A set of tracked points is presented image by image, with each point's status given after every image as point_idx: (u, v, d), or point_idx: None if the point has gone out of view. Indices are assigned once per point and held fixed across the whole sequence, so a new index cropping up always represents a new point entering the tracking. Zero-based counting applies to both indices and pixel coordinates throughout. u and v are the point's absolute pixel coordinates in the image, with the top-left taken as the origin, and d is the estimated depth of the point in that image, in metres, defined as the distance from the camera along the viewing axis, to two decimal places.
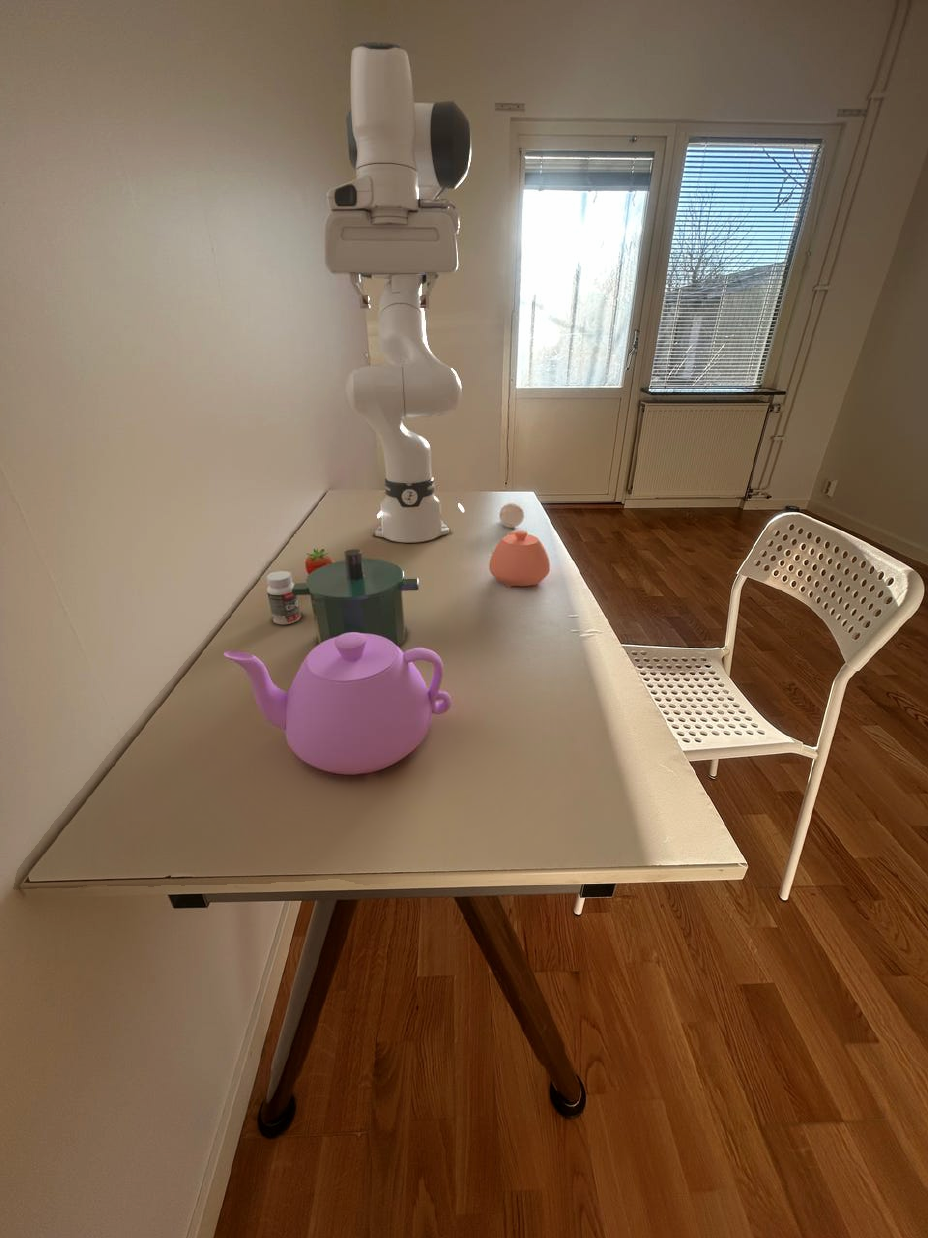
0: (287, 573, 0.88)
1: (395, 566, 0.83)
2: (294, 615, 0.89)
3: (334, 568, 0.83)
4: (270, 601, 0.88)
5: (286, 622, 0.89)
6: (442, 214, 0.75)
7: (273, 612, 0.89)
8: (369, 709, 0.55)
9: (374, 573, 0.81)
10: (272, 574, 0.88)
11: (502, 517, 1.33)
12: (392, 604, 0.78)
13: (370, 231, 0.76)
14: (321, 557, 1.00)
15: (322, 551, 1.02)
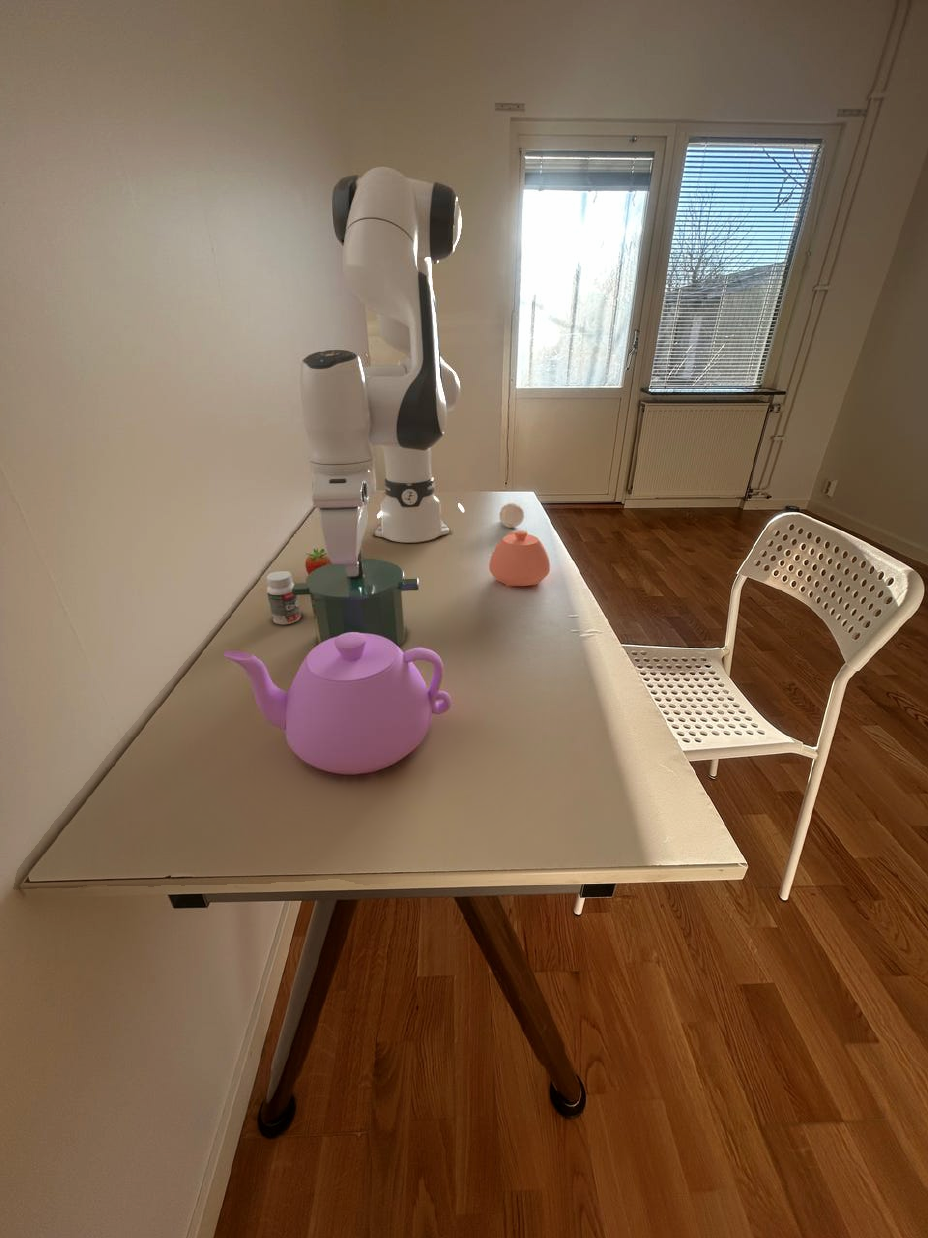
0: (287, 573, 0.88)
1: (395, 566, 0.83)
2: (294, 615, 0.89)
3: (334, 567, 0.83)
4: (270, 601, 0.88)
5: (286, 622, 0.89)
6: None
7: (273, 612, 0.89)
8: (369, 709, 0.55)
9: (374, 573, 0.81)
10: (272, 574, 0.88)
11: (502, 517, 1.33)
12: (392, 604, 0.78)
13: None
14: (321, 557, 1.00)
15: (322, 551, 1.02)
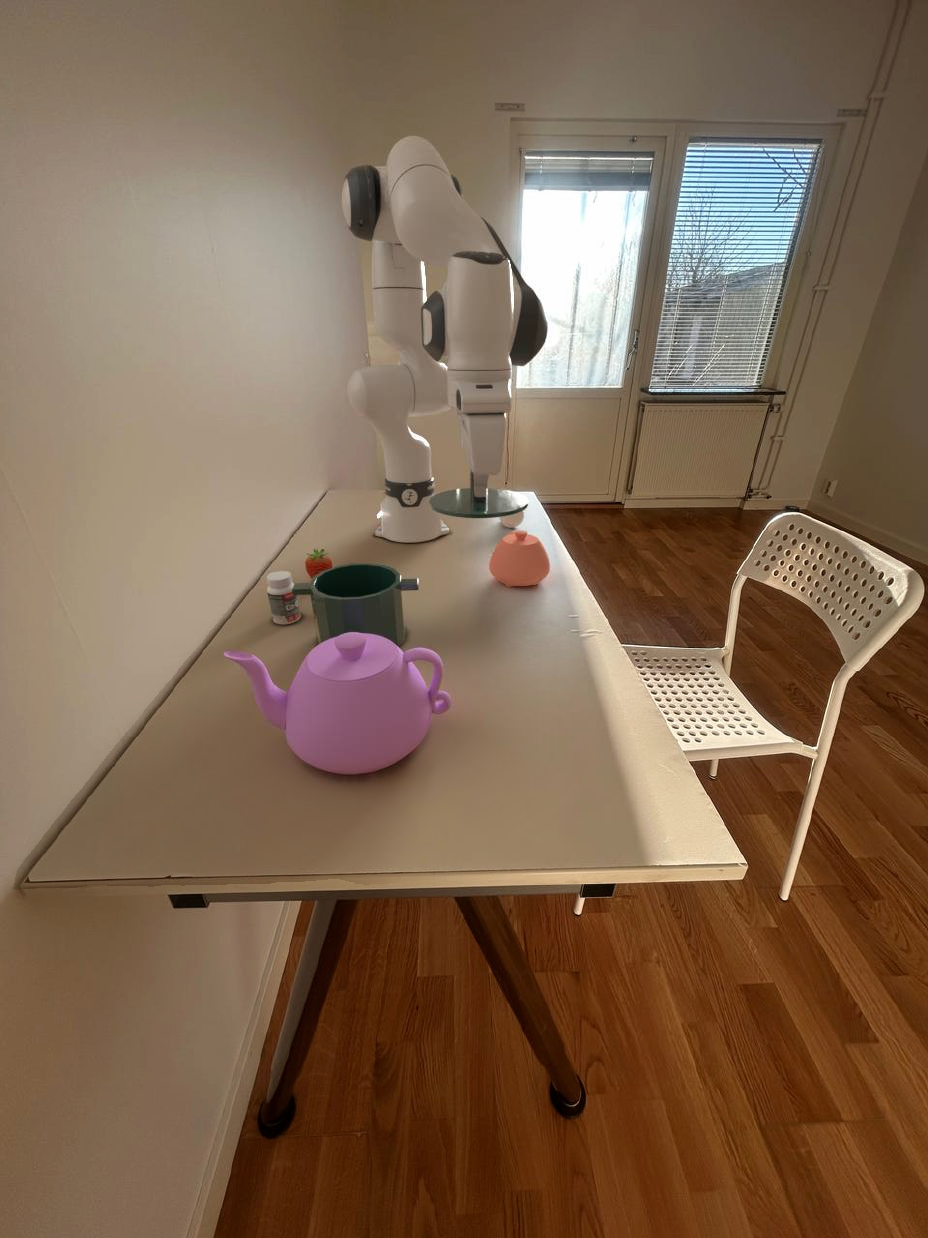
0: (287, 573, 0.88)
1: (514, 492, 0.81)
2: (294, 615, 0.89)
3: (452, 494, 0.81)
4: (270, 601, 0.88)
5: (286, 622, 0.89)
6: None
7: (273, 612, 0.89)
8: (369, 709, 0.55)
9: (496, 497, 0.79)
10: (272, 574, 0.88)
11: (502, 517, 1.33)
12: (392, 604, 0.78)
13: None
14: (321, 557, 1.00)
15: (322, 551, 1.02)
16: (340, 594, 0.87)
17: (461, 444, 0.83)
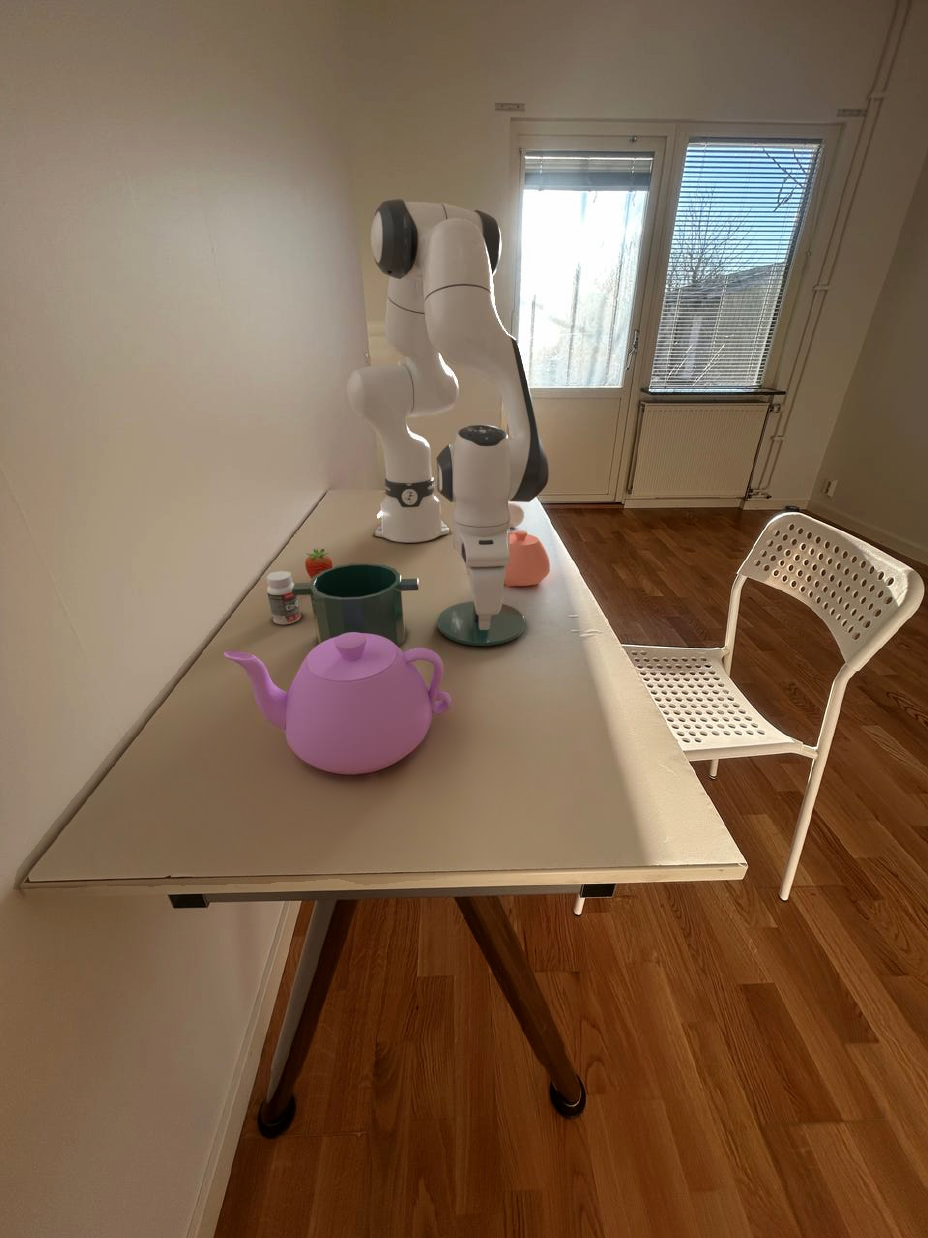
0: (287, 573, 0.88)
1: (513, 609, 0.91)
2: (294, 615, 0.89)
3: (457, 611, 0.91)
4: (270, 601, 0.88)
5: (286, 622, 0.89)
6: None
7: (273, 612, 0.89)
8: (369, 709, 0.55)
9: (497, 617, 0.89)
10: (272, 574, 0.88)
11: None
12: (392, 604, 0.78)
13: None
14: (321, 557, 1.00)
15: (322, 551, 1.02)
16: (340, 594, 0.87)
17: (465, 564, 0.93)
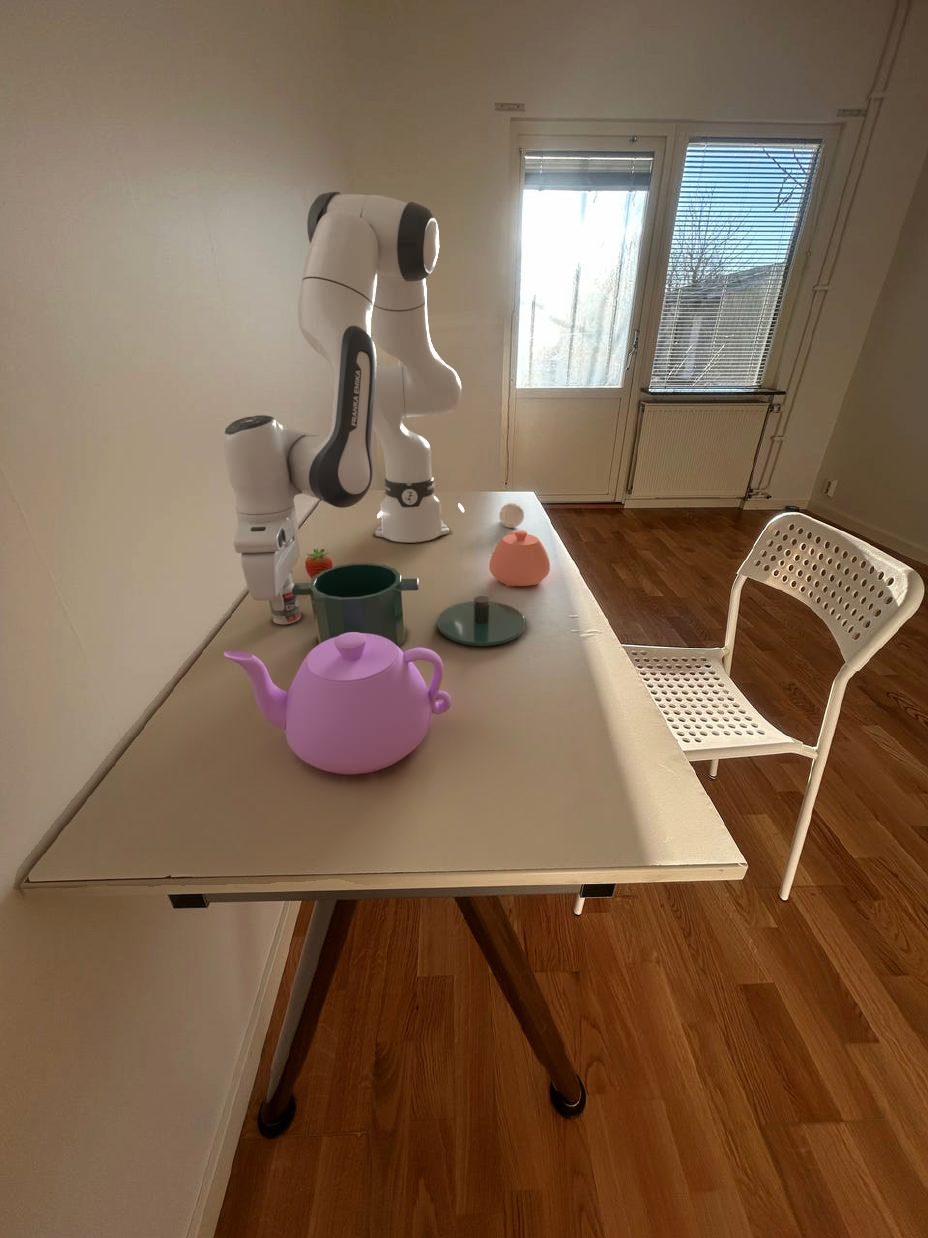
0: None
1: (513, 609, 0.91)
2: (294, 615, 0.89)
3: (457, 611, 0.91)
4: (270, 601, 0.88)
5: (286, 622, 0.89)
6: None
7: (273, 612, 0.89)
8: (369, 709, 0.55)
9: (497, 617, 0.89)
10: None
11: (502, 517, 1.33)
12: (392, 604, 0.78)
13: (279, 554, 0.83)
14: (321, 557, 1.00)
15: (322, 551, 1.02)
16: (340, 594, 0.87)
17: None
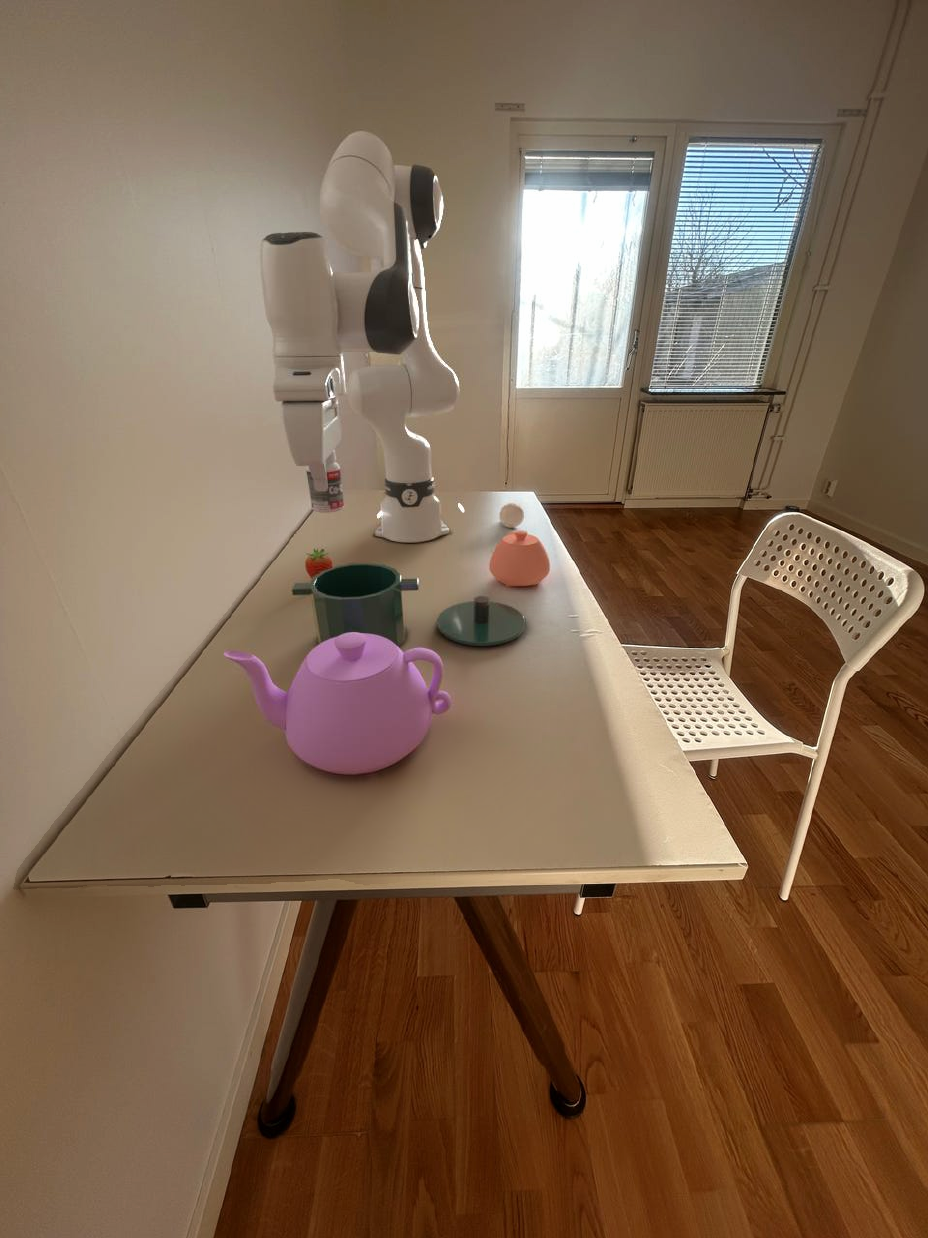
0: None
1: (513, 609, 0.91)
2: (338, 501, 0.75)
3: (457, 611, 0.91)
4: (310, 482, 0.73)
5: (329, 509, 0.74)
6: None
7: (313, 497, 0.74)
8: (369, 709, 0.55)
9: (497, 617, 0.89)
10: None
11: (502, 517, 1.33)
12: (392, 604, 0.78)
13: (324, 416, 0.68)
14: (321, 557, 1.00)
15: (322, 551, 1.02)
16: (340, 594, 0.87)
17: None
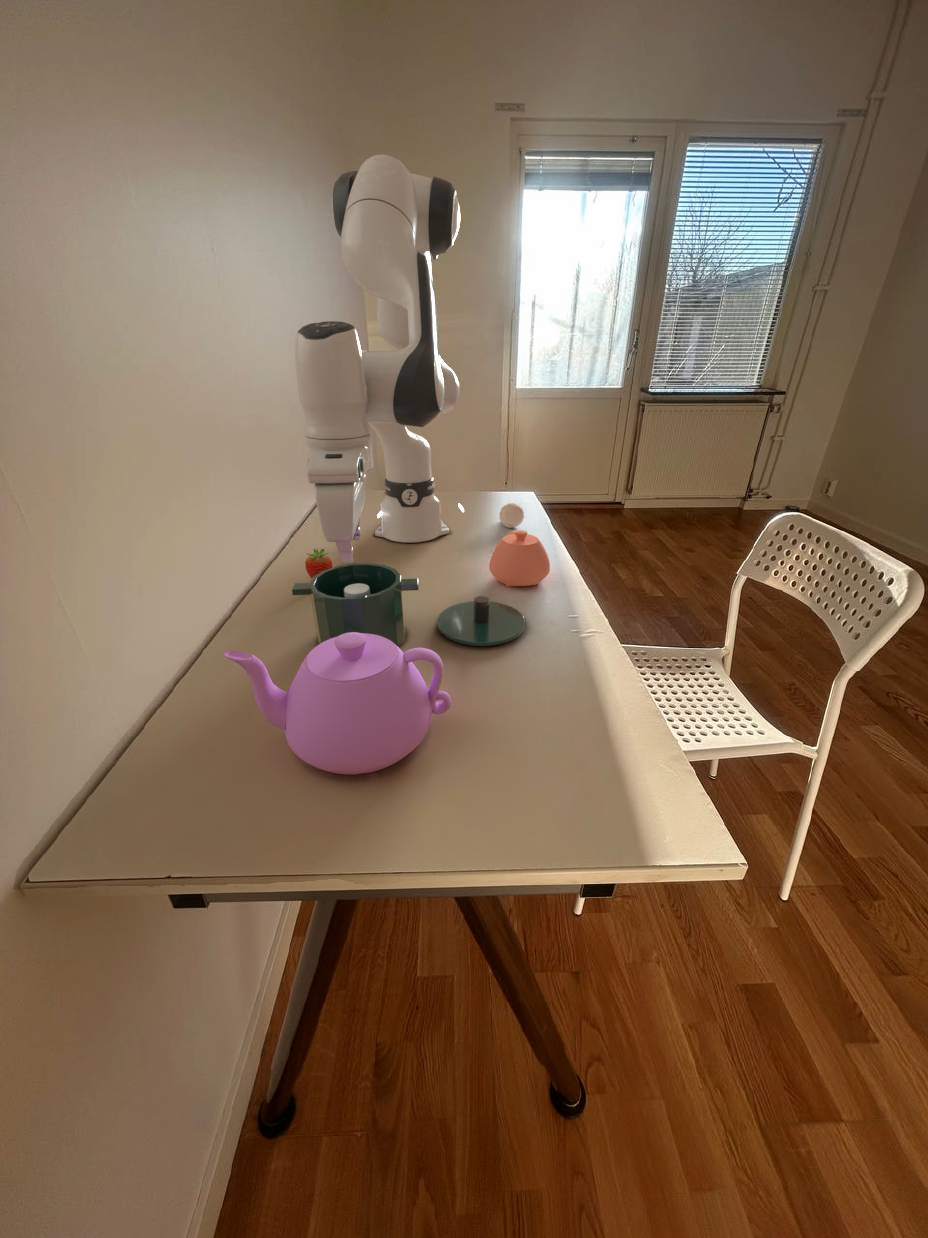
0: (365, 586, 0.82)
1: (513, 609, 0.91)
2: None
3: (457, 611, 0.91)
4: None
5: None
6: None
7: None
8: (369, 709, 0.55)
9: (497, 617, 0.89)
10: (349, 586, 0.82)
11: (502, 517, 1.33)
12: (392, 604, 0.78)
13: None
14: (321, 557, 1.00)
15: (322, 551, 1.02)
16: (340, 594, 0.87)
17: None
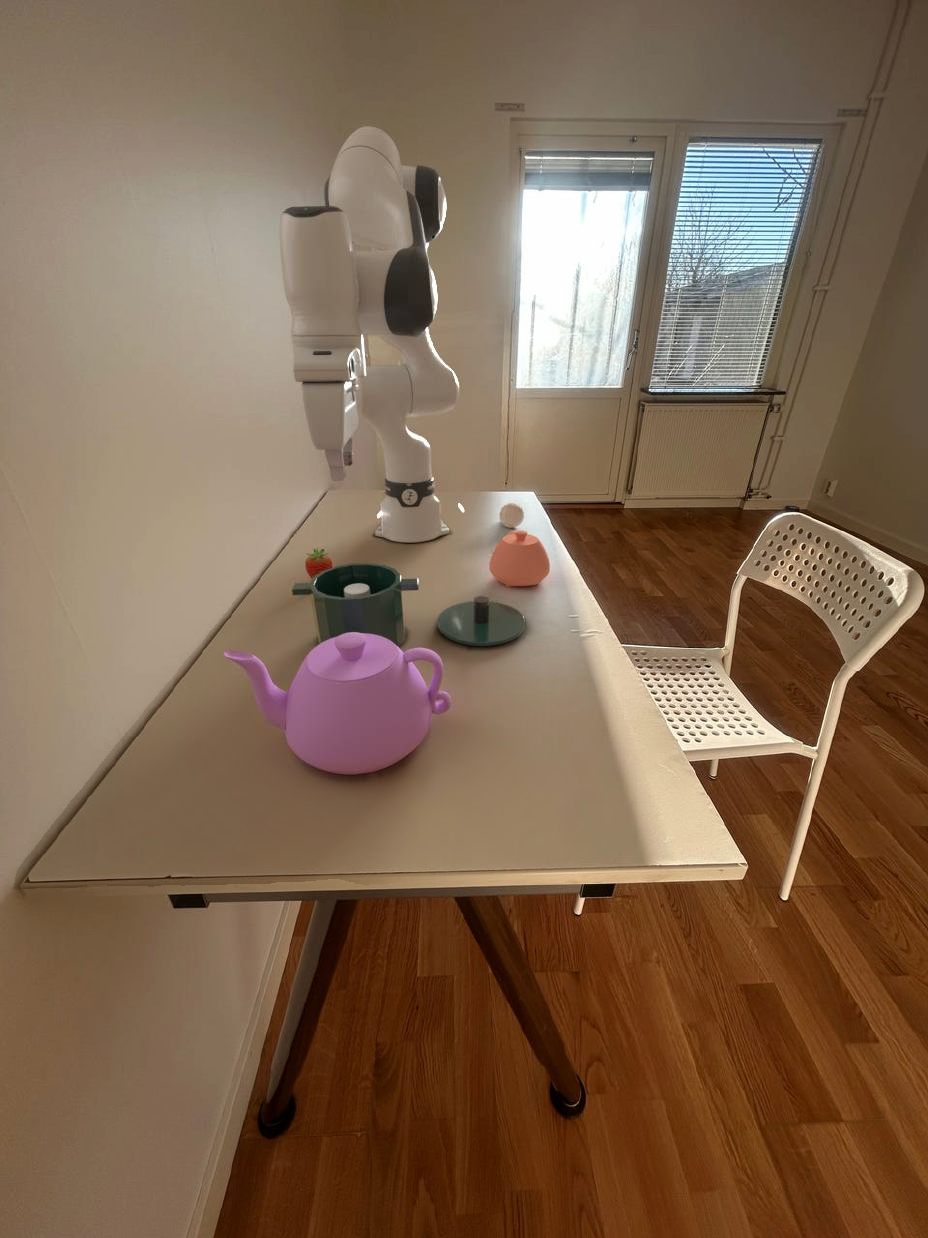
0: (365, 586, 0.82)
1: (513, 609, 0.91)
2: None
3: (457, 611, 0.91)
4: None
5: None
6: None
7: None
8: (369, 709, 0.55)
9: (497, 617, 0.89)
10: (349, 586, 0.82)
11: (502, 517, 1.33)
12: (392, 604, 0.78)
13: None
14: (321, 557, 1.00)
15: (322, 551, 1.02)
16: (340, 594, 0.87)
17: None
